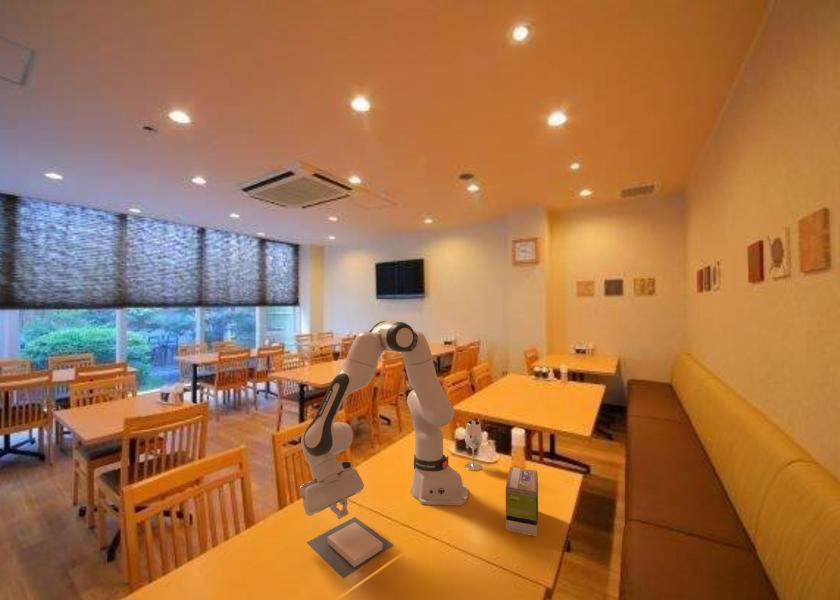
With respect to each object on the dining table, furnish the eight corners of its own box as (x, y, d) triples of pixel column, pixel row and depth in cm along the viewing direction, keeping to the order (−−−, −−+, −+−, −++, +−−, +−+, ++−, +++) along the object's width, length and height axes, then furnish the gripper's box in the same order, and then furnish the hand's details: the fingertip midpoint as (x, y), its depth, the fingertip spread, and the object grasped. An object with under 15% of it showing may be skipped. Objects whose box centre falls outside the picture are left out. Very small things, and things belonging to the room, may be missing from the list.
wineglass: (462, 463, 163) (463, 419, 163) (479, 462, 164) (479, 419, 164) (466, 471, 155) (466, 425, 155) (484, 470, 156) (484, 425, 156)
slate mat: (306, 544, 109) (306, 542, 109) (354, 518, 122) (354, 516, 122) (343, 580, 95) (343, 578, 95) (393, 546, 108) (393, 545, 108)
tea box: (509, 505, 130) (509, 465, 130) (538, 511, 126) (538, 469, 126) (505, 530, 116) (505, 485, 116) (537, 537, 112) (537, 491, 112)
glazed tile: (327, 536, 108) (354, 560, 98) (354, 521, 115) (382, 542, 105) (327, 544, 108) (354, 568, 98) (354, 529, 115) (382, 550, 105)
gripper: (301, 481, 108) (317, 527, 101) (355, 460, 123) (373, 499, 116) (294, 490, 111) (309, 536, 105) (348, 468, 126) (365, 507, 119)
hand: (343, 516), depth 110 cm, fingers closed
